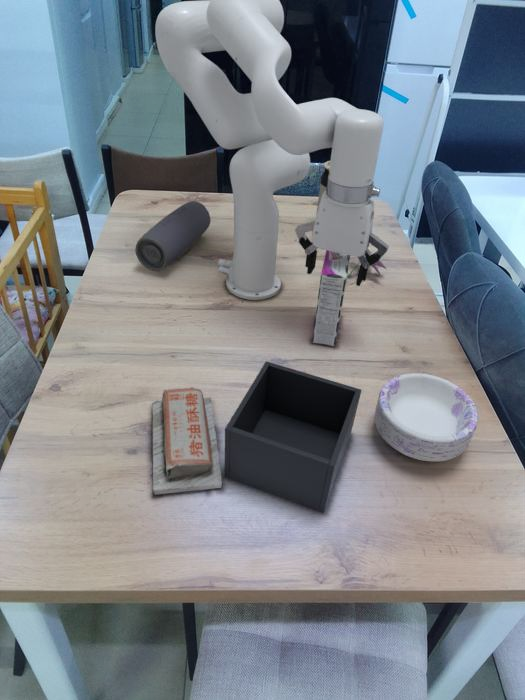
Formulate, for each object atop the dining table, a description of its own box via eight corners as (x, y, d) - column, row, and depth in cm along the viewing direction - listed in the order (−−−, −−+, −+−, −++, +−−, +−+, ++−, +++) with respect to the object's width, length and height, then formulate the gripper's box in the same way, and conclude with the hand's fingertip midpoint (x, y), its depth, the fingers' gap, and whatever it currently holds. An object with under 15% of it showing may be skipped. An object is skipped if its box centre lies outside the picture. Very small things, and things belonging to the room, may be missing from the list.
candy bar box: (316, 312, 110) (326, 244, 99) (339, 316, 109) (352, 248, 99) (310, 343, 101) (320, 273, 91) (335, 348, 101) (348, 277, 90)
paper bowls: (364, 401, 89) (373, 368, 84) (450, 406, 90) (463, 373, 84) (377, 472, 78) (388, 438, 73) (475, 477, 78) (493, 444, 73)
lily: (381, 294, 118) (402, 257, 115) (337, 274, 116) (358, 235, 113) (367, 282, 129) (386, 248, 127) (327, 263, 127) (345, 228, 124)
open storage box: (224, 476, 76) (224, 428, 69) (262, 407, 87) (266, 360, 80) (324, 512, 72) (334, 466, 65) (350, 435, 83) (361, 389, 76)
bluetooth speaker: (181, 231, 136) (179, 195, 129) (212, 238, 133) (212, 202, 127) (135, 270, 119) (130, 231, 113) (170, 280, 117) (167, 240, 110)
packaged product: (150, 386, 83) (210, 381, 84) (152, 407, 86) (211, 402, 87) (150, 476, 69) (222, 469, 71) (153, 497, 72) (222, 489, 74)
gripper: (403, 191, 87) (383, 277, 97) (307, 173, 91) (298, 258, 102) (395, 208, 81) (375, 297, 92) (293, 188, 85) (286, 275, 96)
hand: (334, 276), depth 97 cm, fingers open, 9 cm apart
